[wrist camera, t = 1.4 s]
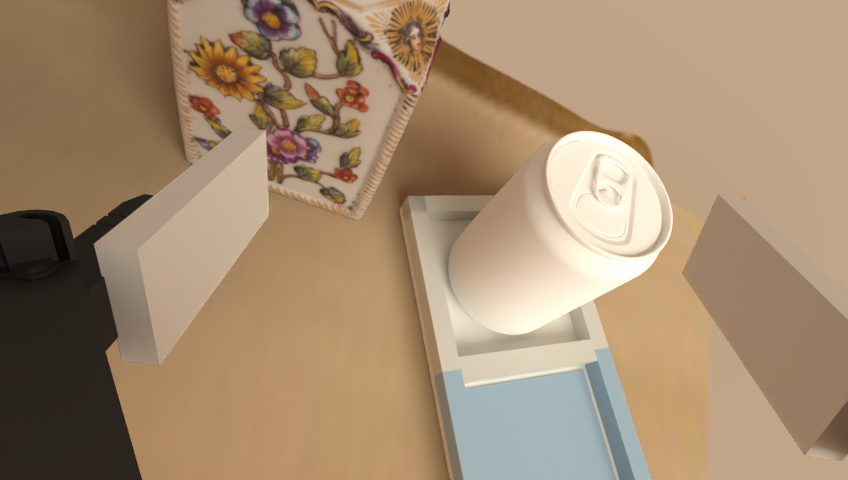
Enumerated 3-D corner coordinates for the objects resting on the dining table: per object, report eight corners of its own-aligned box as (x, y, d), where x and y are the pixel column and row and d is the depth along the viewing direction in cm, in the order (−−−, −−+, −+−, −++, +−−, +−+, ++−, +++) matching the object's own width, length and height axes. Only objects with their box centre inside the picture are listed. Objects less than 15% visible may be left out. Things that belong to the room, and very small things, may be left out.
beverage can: (425, 299, 32) (515, 211, 22) (468, 206, 36) (561, 96, 26) (533, 359, 33) (670, 302, 23) (563, 261, 37) (689, 175, 27)
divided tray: (399, 209, 35) (407, 195, 33) (545, 207, 39) (559, 194, 38) (472, 601, 26) (489, 609, 25) (648, 542, 31) (673, 545, 29)
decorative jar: (360, 227, 34) (467, 9, 18) (180, 167, 31) (129, -140, 16) (398, 98, 39) (503, -151, 24) (248, 39, 37) (259, -277, 22)
